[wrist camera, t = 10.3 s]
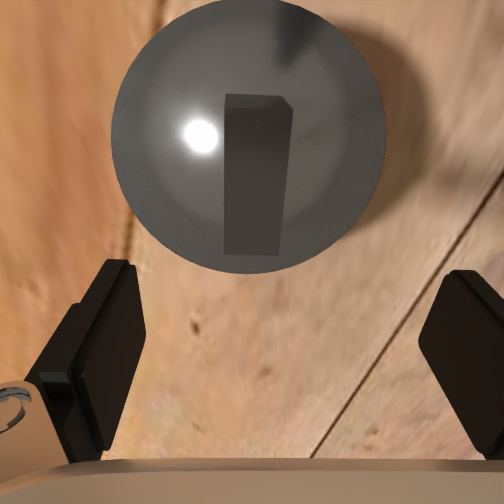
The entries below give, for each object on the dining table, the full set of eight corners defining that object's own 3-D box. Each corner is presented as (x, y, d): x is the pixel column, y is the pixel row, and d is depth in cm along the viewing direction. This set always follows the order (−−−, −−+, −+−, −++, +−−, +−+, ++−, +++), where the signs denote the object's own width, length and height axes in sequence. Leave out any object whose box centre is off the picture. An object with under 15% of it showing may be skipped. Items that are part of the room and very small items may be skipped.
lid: (414, 8, 19) (472, -1, 14) (352, 269, 28) (376, 314, 23) (89, -12, 18) (40, -28, 13) (134, 267, 27) (114, 314, 22)
